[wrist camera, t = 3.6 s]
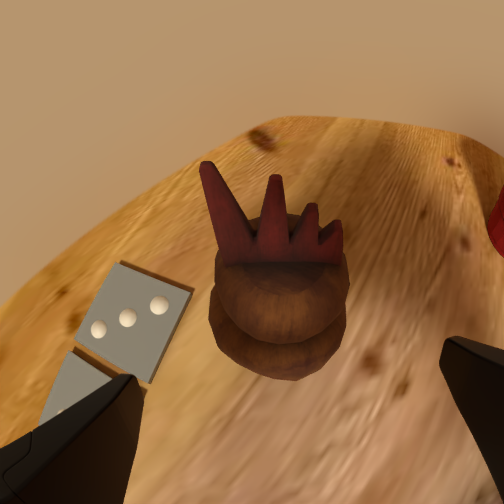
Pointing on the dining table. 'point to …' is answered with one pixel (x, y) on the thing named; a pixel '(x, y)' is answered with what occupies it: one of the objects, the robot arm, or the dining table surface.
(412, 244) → the dining table surface
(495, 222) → the plastic cup
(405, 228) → the dining table surface
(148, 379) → the pad
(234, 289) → the wooden figurine
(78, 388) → the pad
